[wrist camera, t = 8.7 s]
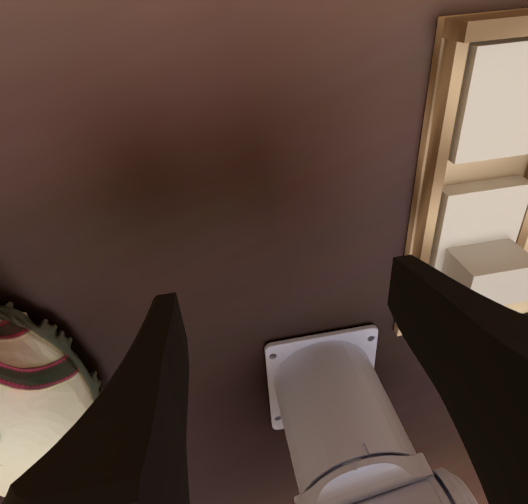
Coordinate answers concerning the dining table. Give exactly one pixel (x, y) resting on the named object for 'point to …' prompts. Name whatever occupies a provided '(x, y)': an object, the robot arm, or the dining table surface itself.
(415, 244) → the lane board
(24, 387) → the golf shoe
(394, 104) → the dining table surface
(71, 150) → the dining table surface
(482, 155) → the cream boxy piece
